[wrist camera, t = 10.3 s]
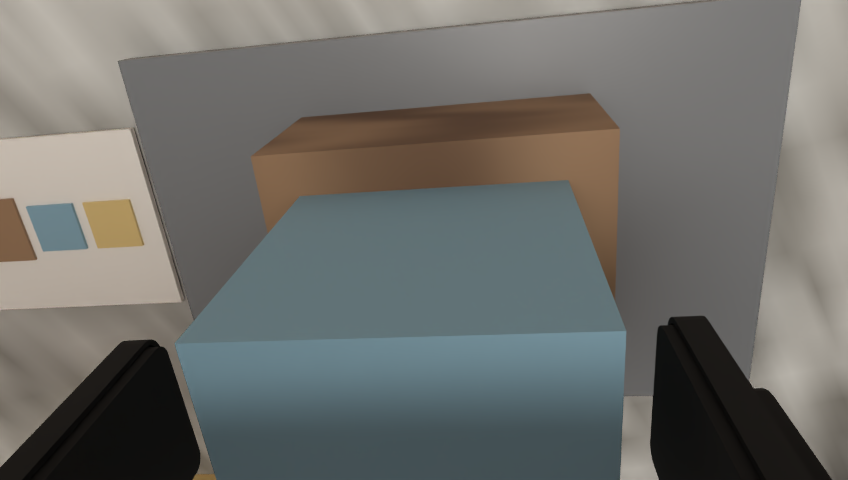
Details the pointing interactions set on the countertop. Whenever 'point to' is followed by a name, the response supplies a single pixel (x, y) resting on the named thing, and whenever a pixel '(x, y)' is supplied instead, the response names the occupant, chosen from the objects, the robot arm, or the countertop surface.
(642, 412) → the countertop surface
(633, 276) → the grey flat board
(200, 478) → the ochre brick
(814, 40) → the countertop surface
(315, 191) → the walnut base brick
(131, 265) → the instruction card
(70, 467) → the robot arm
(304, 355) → the blue brick
